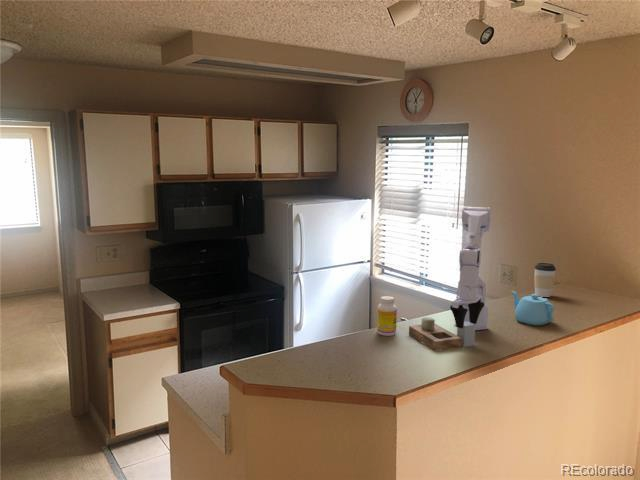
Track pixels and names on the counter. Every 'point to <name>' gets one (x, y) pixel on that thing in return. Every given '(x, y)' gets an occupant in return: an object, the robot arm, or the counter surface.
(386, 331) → the supplement bottle
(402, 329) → the counter surface
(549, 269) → the coffee cup
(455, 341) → the base
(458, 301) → the robot arm
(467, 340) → the peg
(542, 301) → the teapot
